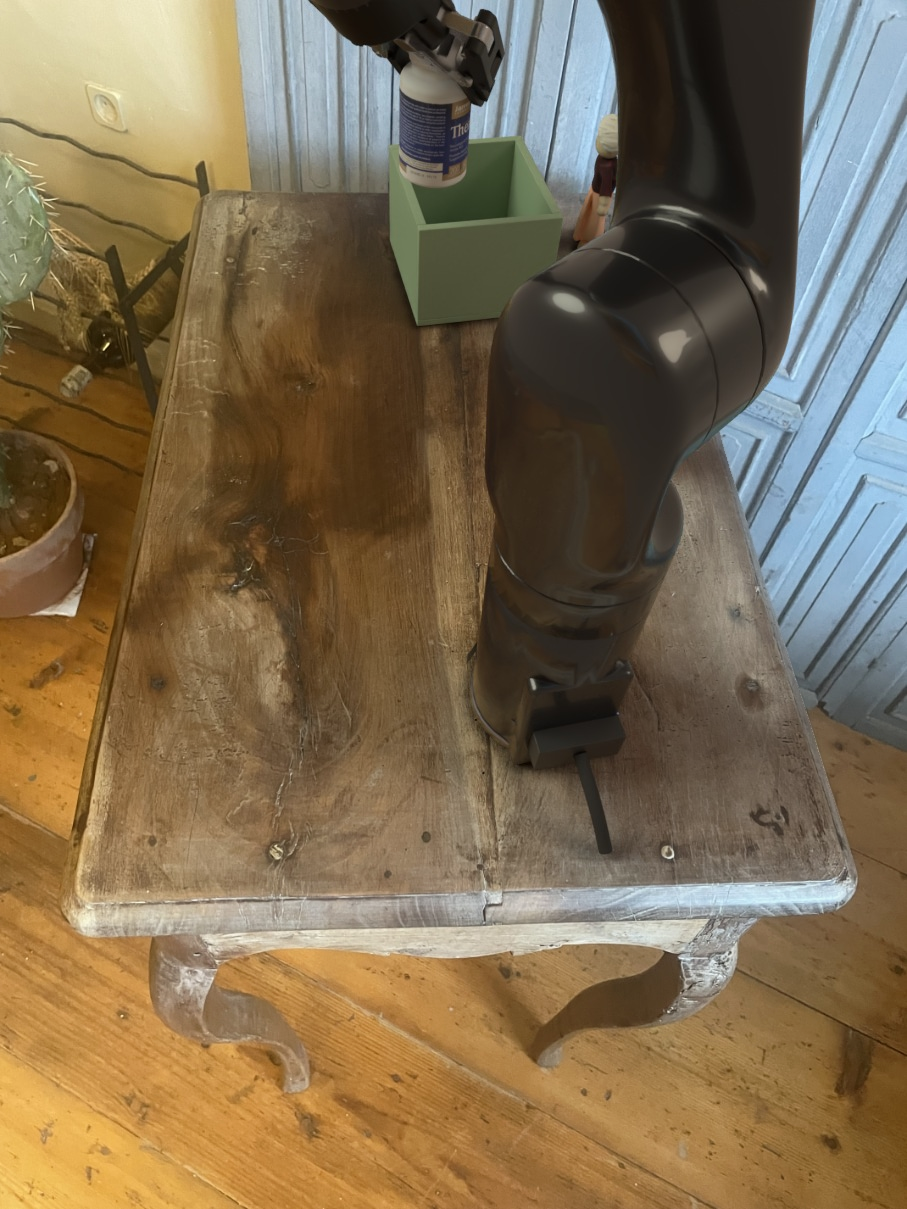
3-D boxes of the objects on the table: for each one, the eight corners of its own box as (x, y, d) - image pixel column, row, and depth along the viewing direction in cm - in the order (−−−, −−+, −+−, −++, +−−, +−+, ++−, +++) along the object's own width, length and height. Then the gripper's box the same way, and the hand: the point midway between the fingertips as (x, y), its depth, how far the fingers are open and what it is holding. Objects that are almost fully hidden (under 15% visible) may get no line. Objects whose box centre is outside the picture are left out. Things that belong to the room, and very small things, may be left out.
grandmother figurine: (566, 223, 90) (587, 96, 80) (602, 223, 90) (628, 96, 80) (576, 268, 86) (600, 139, 75) (614, 268, 86) (644, 140, 76)
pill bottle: (459, 195, 67) (468, 59, 59) (392, 184, 68) (391, 48, 60) (472, 160, 70) (482, 26, 62) (407, 149, 71) (409, 15, 63)
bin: (548, 312, 82) (563, 217, 74) (417, 326, 80) (418, 230, 72) (510, 229, 89) (521, 135, 81) (389, 240, 87) (388, 144, 79)
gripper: (485, -105, 46) (555, 57, 62) (270, -165, 50) (388, 2, 66) (428, 40, 48) (511, 161, 64) (225, -29, 52) (350, 102, 67)
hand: (448, 80), depth 65 cm, fingers closed on pill bottle, 5 cm apart
